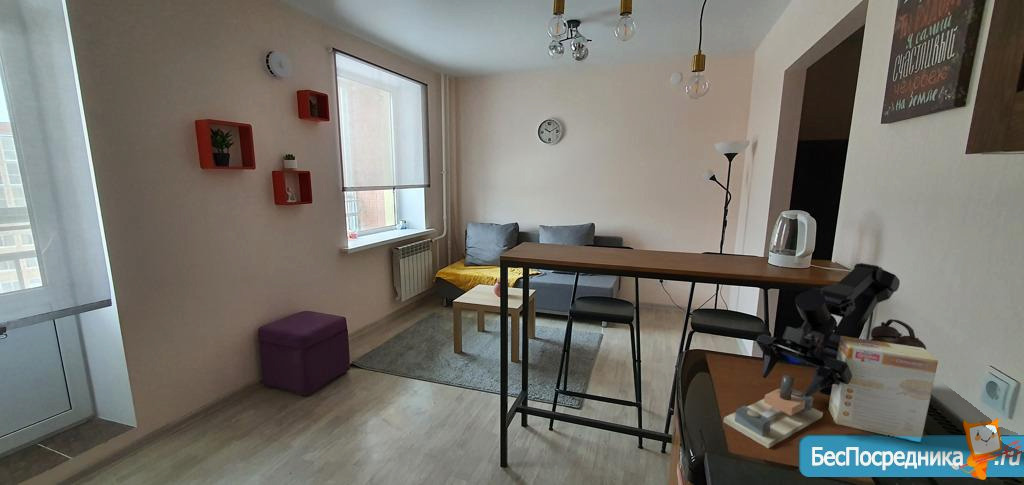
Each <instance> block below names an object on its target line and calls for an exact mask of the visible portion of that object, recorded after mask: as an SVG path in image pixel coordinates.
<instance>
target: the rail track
mask: <svg viewBox="0 0 1024 485" xmlns="http://www.w3.org/2000/svg"><path fill="white" fill-rule="evenodd" d="M792 395H794V396H796V397H798V398H801V399H803V400H805V401H806V402H805V408H804V409H803V410H801V411H799V412H797V413H795V414H793V415H789V414H787V413H785V412H782V411H780V410H778V409H776V408H774V407H772V406H770V405H768V404H766V403H764V398H763V399H760V400H758V401H757V402H754V403H752V404H750V405H748V406H746V405H743V406H742V405H741V406H740V407H738V408H736V410H735V411H734V412H733V413H731V414H728V415H726V416H724V417H723V424H725V425H727V426H729V427H731V428H732V429H734V430H736V431H738V432H740V433H741V434H743V435H744V436H746V437H748V438H749V439H752V440H753V441H755V442H756V443H758V444H759V445H761V446H764V447H765V448H767V449H769V448H771V447H774V446H775V445H777V444H779V443H780V442H782V441H784V440H786V439H787V438H789V437H791V436H792V435H794V434H796V433H797V432H799V431H801V430H802V429H804V428H806V427H808V426H809V425H811V424H813V423H815V422H816V421H818V420H820V419H821V418H823V414H824V412H823V411H821V410H818V409H817V408H814V407H813V401H814V397H812V396H809V397H806V396H805V393H803V392H802V391H799V390H797V389H793V388H792Z"/></svg>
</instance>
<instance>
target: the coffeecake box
mask: <svg viewBox="0 0 1024 485" xmlns="http://www.w3.org/2000/svg"><path fill="white" fill-rule="evenodd" d="M837 360H840V361H843V362H846V363H847V365H848V366H849V369H850V371H851V374H852V379H851V380H850V382H849V384H844V383H841V382H840V384H839V385H837V384H832V390H831V394H830V398H829V403H828V404H829V405H828V412H829V413H830V415H831V416H832V418H833V421H834V423H835V424H836V425H839V426H844V427H848V428H853V429H858V430H862V431H866V432H870V433H876V434H879V435H880V434H881V435H884V436H888V435H890V436H889V437H892V436H910V437H922V438H923V434H924V429H925V426H926V425H925V424H926V420H927V416H928V415H927V414H928V410H929V406H930V402H931V397H932V391H933V387H934V381H935V378H936V371H937V368H938V364H939V363H938V362H939V360H938V359H937V358H936V357H935V356H934V355H932V354H931V353H930V352H929V351H928V350H927V349H926V350H925V349H924V348H920V347H913V346H906V345H899V344H892V343H886V342H879V341H872V340H871V339H865V338H858V337H857V338H851V337H845V336H841V337H840V342H839V348H838V354H837Z"/></svg>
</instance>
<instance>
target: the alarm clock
mask: <svg viewBox="0 0 1024 485" xmlns="http://www.w3.org/2000/svg"><path fill="white" fill-rule="evenodd" d="M892 323H896V324H899V325H901V326H903V327H904V328H905V329H906V330H907V332H908V334H909V335H903V334H902V333H901V332H899V331H898V329H897V328H895V327H894V326H892V325H891V324H892ZM890 325H891V326H890ZM870 340H872V341H879V342H886V343H892V344H899V345H906V346H913V347H920V348H924V349H925V350H927V347H926V344H924V342H923V341H922V340H921V339H919V338H918V337H916V335H915V331H914V329H913V328H912V327H911V325H908V324H907V323H905V322H904V321H901V320H899V319H892V318H891V319H888V320H887V321H886V322H885V321H881V323H880V325H878V326H874V327H873V328H872V329H871V331H870Z"/></svg>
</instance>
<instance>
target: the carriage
mask: <svg viewBox="0 0 1024 485" xmlns="http://www.w3.org/2000/svg"><path fill="white" fill-rule="evenodd" d="M794 380H795V378H794V377H793V376H791V375H788V374H782V378H781V384H780V388H777V389H774V390H772V391H770V392H768V393H766V394H764V398H763V399H764V403H766V404H768V405H770V406H772V407H774V408H776V409H778V410H780V411H782V412H785V413H787V414H789V415H793V414H795V413H797V412H799V411H801V410H803V409H804V408H805V402H806V401H805V400H803V399H801V398H798V397H796V396H794V395H792V389H793V386H794Z"/></svg>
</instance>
